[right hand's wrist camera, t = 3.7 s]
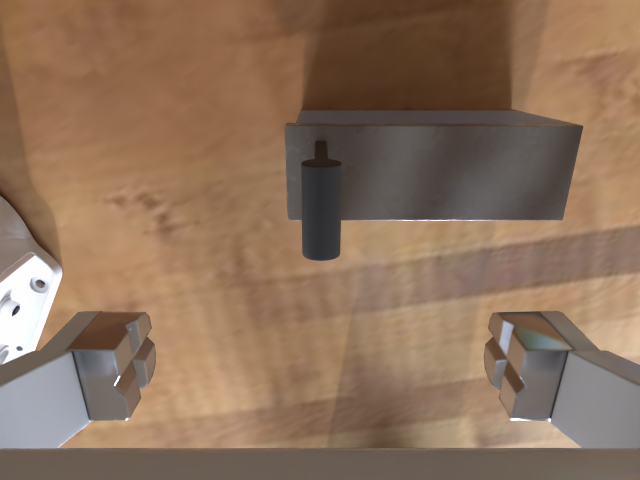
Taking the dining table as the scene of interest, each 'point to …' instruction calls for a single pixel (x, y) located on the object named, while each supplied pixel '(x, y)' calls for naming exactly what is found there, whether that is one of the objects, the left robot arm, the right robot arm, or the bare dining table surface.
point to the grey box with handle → (423, 174)
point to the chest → (423, 116)
